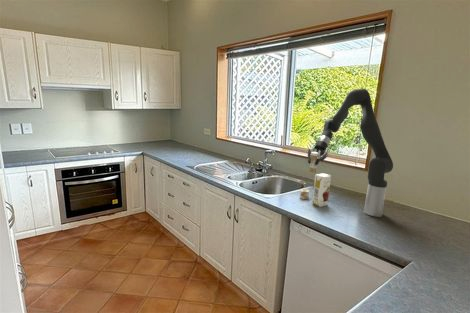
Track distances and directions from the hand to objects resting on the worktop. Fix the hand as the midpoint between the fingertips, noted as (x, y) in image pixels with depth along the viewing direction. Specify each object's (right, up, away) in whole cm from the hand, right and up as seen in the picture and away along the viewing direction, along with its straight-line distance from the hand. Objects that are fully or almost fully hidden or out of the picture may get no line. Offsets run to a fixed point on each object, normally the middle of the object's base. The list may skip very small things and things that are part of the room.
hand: (312, 163), depth 172 cm
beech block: (-5, -22, 0) cm, 23 cm away
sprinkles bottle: (+1, -6, +3) cm, 7 cm away
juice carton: (+1, -25, -10) cm, 27 cm away
